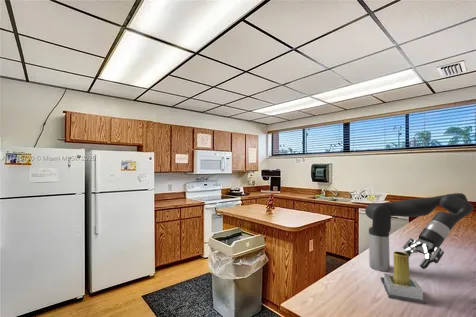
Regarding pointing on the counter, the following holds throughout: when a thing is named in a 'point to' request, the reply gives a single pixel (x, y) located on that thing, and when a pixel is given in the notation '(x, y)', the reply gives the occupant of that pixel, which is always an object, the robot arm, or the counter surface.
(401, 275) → the vase
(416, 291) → the grey tray
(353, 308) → the counter surface
